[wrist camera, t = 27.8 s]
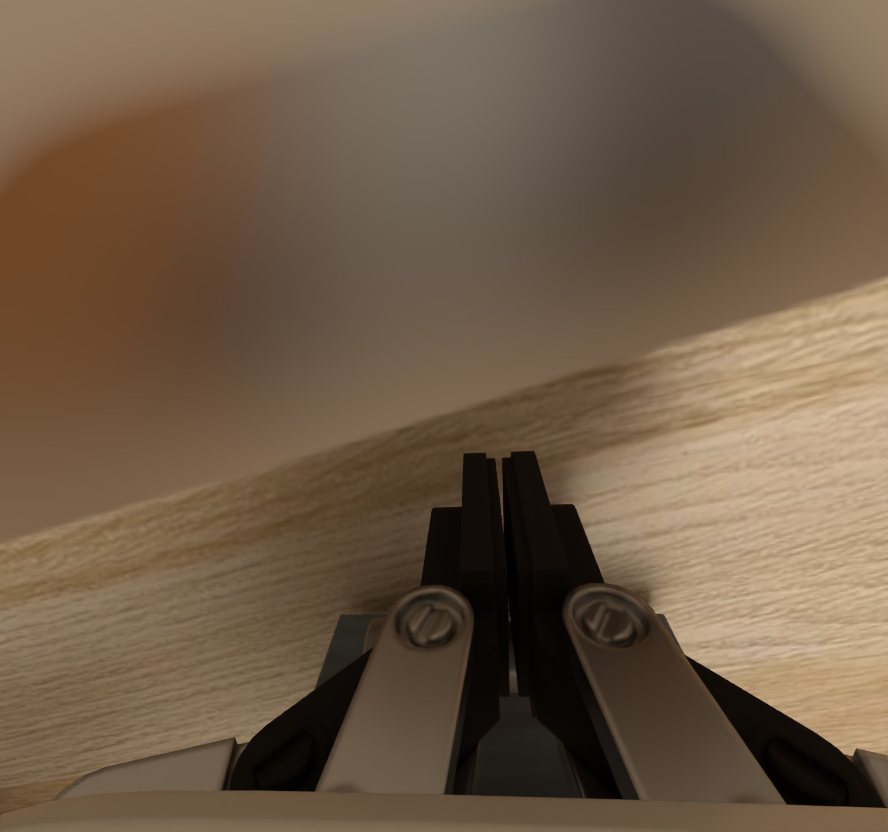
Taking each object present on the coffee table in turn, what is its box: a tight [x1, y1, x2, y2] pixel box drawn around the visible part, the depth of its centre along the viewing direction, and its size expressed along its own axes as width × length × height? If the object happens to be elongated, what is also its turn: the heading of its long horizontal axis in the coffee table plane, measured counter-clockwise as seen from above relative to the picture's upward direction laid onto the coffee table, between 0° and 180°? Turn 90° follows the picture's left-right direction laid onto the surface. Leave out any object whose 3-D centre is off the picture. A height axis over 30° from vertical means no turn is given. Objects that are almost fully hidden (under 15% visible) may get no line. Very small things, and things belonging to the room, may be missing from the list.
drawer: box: [315, 614, 684, 798], centre depth 13 cm, size 18×11×8 cm, turn 4°
